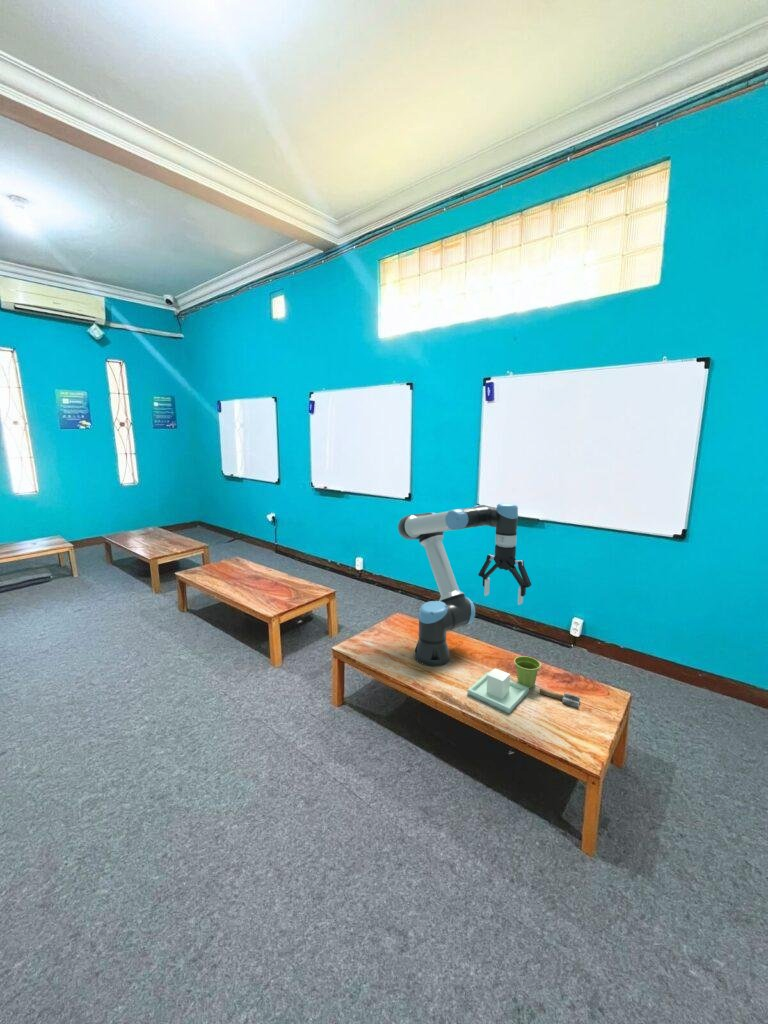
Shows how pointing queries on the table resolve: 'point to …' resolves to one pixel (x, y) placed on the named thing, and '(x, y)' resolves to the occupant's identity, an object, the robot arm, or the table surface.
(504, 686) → the block
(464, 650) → the table surface
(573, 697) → the scoop
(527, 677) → the plant pot
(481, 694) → the tray
